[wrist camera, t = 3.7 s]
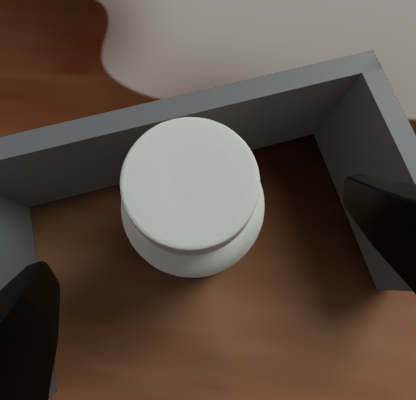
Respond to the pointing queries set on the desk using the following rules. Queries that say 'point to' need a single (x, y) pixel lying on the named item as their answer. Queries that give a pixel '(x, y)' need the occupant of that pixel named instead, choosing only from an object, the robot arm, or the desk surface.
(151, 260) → the supplement bottle
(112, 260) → the desk surface
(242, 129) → the open side box
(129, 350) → the desk surface
